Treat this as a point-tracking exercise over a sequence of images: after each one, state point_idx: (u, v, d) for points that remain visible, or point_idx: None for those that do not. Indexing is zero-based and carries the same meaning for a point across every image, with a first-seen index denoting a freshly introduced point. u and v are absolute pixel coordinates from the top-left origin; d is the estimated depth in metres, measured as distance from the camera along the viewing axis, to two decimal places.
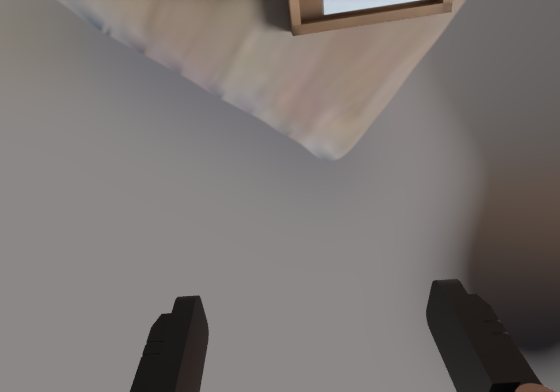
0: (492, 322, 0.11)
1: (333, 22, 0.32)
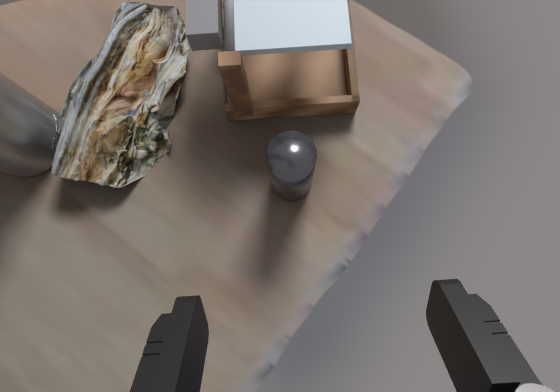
0: (492, 322, 0.11)
1: (351, 71, 0.40)
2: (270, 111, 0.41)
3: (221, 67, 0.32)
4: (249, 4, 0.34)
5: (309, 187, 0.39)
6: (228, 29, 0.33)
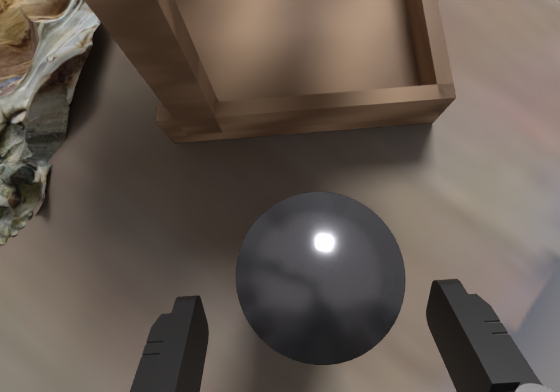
0: (492, 322, 0.11)
1: (432, 34, 0.19)
2: (257, 123, 0.19)
3: None
4: None
5: None
6: None
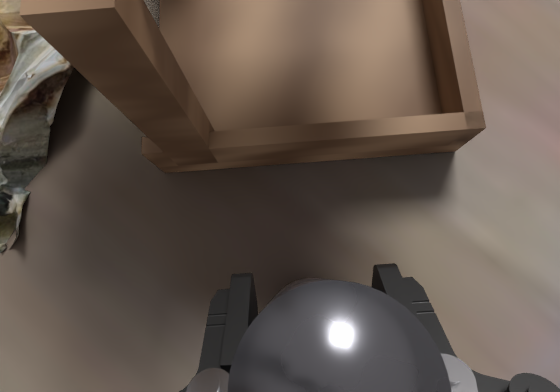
0: (422, 302, 0.11)
1: (457, 53, 0.16)
2: (258, 154, 0.17)
3: (39, 23, 0.08)
4: None
5: None
6: None
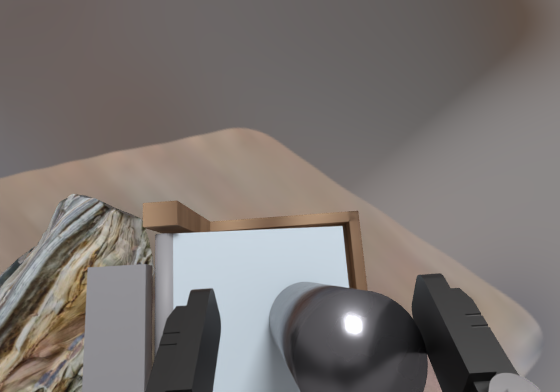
0: (473, 315, 0.11)
1: None
2: None
3: None
4: None
5: None
6: None
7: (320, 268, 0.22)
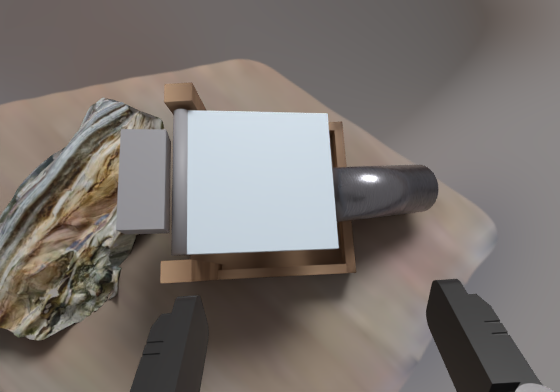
0: (492, 322, 0.11)
1: (345, 230, 0.32)
2: None
3: (165, 282, 0.23)
4: (208, 184, 0.25)
5: None
6: (179, 223, 0.24)
7: (307, 144, 0.27)
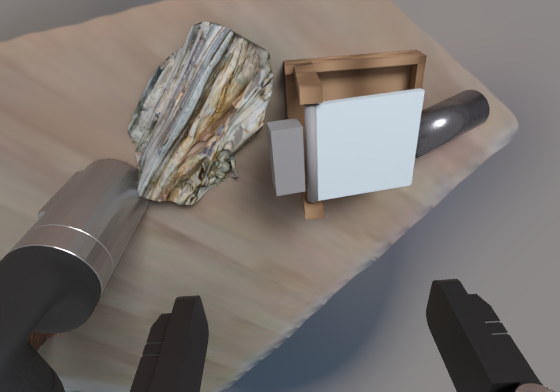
0: (492, 322, 0.11)
1: None
2: None
3: None
4: (331, 158, 0.36)
5: None
6: (314, 185, 0.37)
7: (404, 119, 0.35)
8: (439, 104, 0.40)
